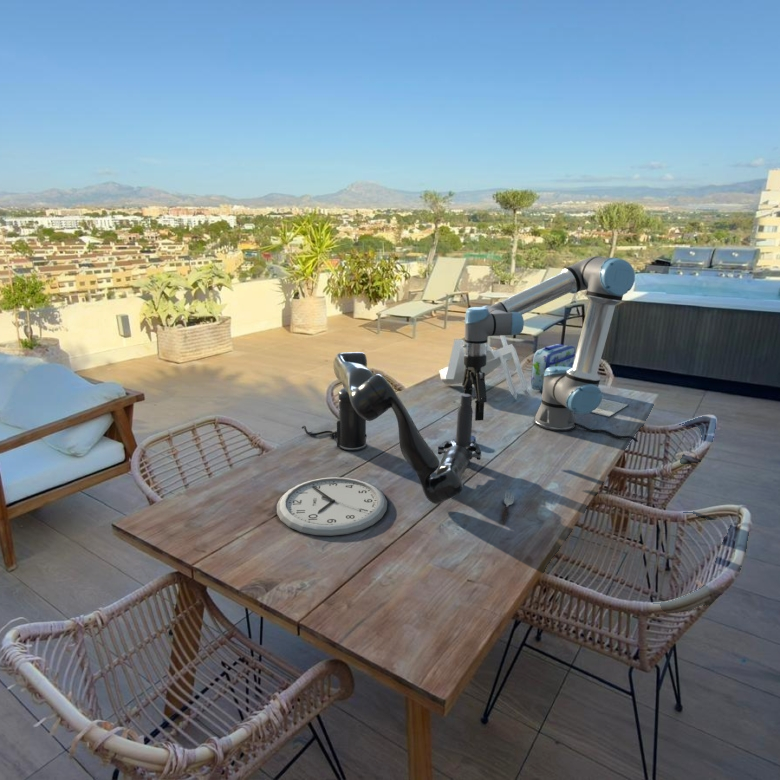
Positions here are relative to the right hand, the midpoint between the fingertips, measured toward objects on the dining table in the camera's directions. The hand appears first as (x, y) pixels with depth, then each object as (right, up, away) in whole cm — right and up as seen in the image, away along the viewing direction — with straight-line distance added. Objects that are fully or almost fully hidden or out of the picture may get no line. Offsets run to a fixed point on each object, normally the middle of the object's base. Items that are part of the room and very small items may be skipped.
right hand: (473, 413), depth 182 cm
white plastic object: (+13, +7, +61) cm, 63 cm away
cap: (-1, -9, +3) cm, 9 cm away
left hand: (-5, -9, -11) cm, 15 cm away
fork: (+2, -25, -41) cm, 48 cm away
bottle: (-5, -15, -11) cm, 20 cm away
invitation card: (+63, +1, +44) cm, 77 cm away
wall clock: (-45, -23, -39) cm, 64 cm away
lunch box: (+48, +9, +69) cm, 84 cm away
